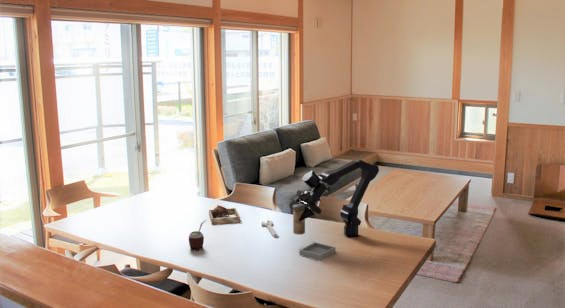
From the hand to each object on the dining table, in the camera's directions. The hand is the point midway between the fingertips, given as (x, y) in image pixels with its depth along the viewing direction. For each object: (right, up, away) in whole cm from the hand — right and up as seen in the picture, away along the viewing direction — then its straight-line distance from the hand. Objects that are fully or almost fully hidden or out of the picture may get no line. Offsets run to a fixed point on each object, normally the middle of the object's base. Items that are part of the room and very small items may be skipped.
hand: (296, 218), depth 255 cm
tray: (+10, -15, -8) cm, 20 cm away
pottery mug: (-42, -6, +47) cm, 64 cm away
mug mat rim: (-40, -5, +47) cm, 62 cm away
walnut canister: (+1, -7, +2) cm, 7 cm away
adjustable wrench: (-14, -10, +26) cm, 31 cm away
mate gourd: (-47, -14, 0) cm, 50 cm away
